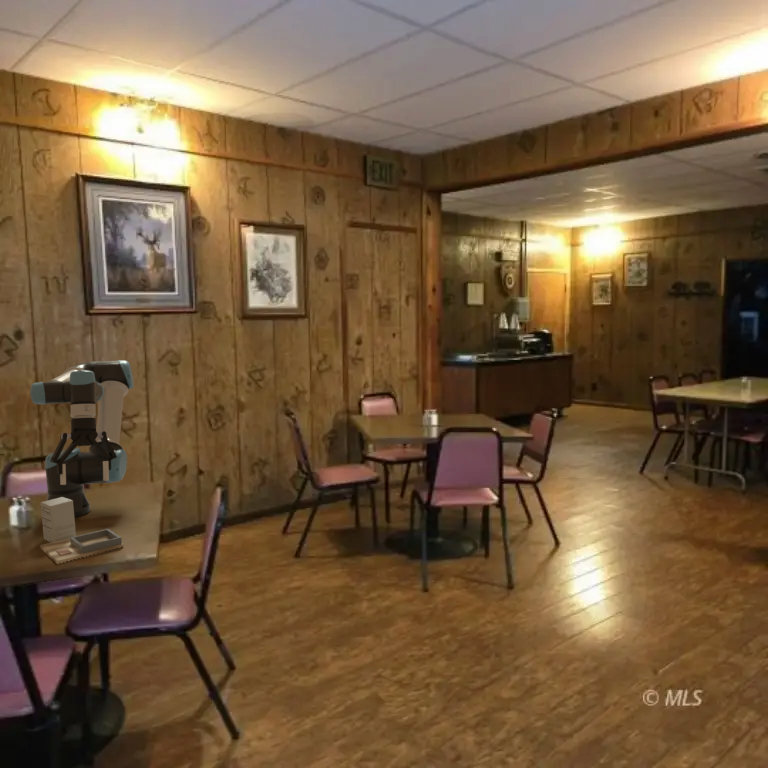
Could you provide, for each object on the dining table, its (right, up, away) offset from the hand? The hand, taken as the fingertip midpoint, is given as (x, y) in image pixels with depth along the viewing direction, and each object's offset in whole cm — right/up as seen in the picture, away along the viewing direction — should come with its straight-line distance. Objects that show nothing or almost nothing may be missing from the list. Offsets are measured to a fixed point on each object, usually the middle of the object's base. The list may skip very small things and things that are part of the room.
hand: (85, 482), depth 212 cm
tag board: (+4, -19, -11) cm, 22 cm away
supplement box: (-7, -18, -2) cm, 20 cm away
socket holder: (+8, -18, -10) cm, 22 cm away
